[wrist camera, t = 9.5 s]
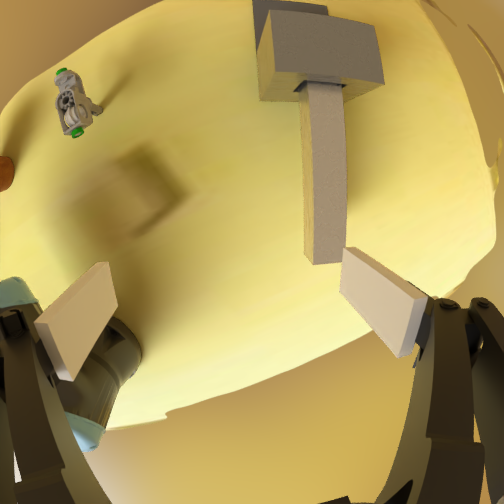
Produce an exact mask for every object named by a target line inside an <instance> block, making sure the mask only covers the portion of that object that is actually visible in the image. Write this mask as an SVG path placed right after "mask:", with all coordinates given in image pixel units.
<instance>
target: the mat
mask: <svg viewBox="0 0 504 504" xmlns="http://www.w3.org/2000/svg"><path fill="white" fill-rule="evenodd" d="M252 1H253V13H254V26H255V39H256V53H257V50H258V46H259V43H260V40H261V36H262V33H263V29H264V26H265V23H266V19H267V16H268V13H269V10H284V11H295V12H305V13H313V14H320V15H326V16H328V11H327V6H323V5H316V4H309V3H301V2H292V1H279V0H252Z"/></svg>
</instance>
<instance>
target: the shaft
mask: <svg viewBox="0 0 504 504" xmlns="http://www.w3.org/2000/svg"><path fill="white" fill-rule="evenodd" d="M298 94H299V107H300V121H301V139H302V160H303V190H304V255H305V256H306V257H307V258H308V259H309V261H310V262H311V263H312V264H313V265H318V264H328V263H338V262H342V258H343V248H344V247H345V245H346V219H347V162H346V137H345V121H344V108H343V97H342V87H341V84H339V83H331V82H321V81H309V80H303V81H302V82H301V83H300V84H299V85H298Z"/></svg>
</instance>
